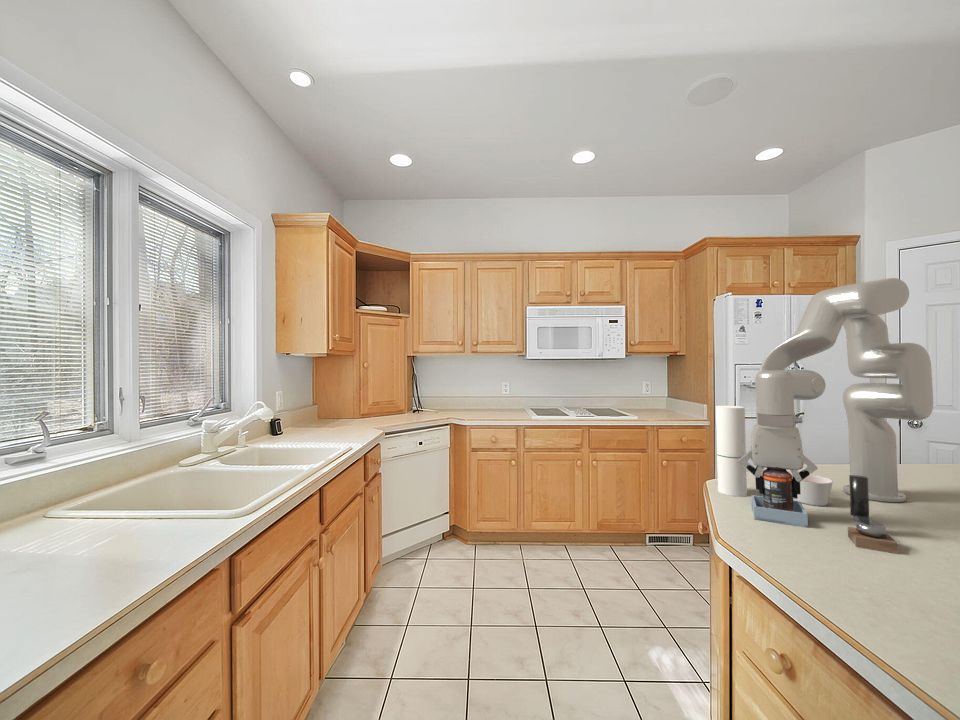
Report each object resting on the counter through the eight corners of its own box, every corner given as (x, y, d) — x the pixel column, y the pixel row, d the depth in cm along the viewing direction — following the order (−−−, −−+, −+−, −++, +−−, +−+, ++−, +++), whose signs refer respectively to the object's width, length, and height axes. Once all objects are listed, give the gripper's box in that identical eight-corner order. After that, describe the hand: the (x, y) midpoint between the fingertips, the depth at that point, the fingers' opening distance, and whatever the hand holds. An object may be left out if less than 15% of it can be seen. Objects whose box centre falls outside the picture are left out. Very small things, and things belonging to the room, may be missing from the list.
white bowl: (787, 502, 106) (787, 478, 106) (792, 494, 113) (791, 472, 113) (832, 510, 100) (831, 485, 100) (834, 501, 106) (833, 478, 107)
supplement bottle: (787, 506, 98) (786, 460, 99) (798, 514, 93) (796, 466, 93) (759, 503, 100) (758, 459, 101) (768, 512, 95) (766, 464, 95)
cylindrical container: (746, 491, 116) (744, 406, 117) (747, 497, 110) (744, 408, 111) (718, 487, 120) (716, 405, 121) (717, 493, 114) (715, 407, 115)
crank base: (847, 535, 85) (847, 525, 85) (886, 541, 82) (886, 531, 82) (856, 546, 80) (855, 535, 80) (897, 553, 77) (897, 542, 77)
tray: (751, 506, 103) (751, 495, 103) (800, 513, 98) (799, 501, 98) (754, 519, 95) (754, 506, 95) (807, 527, 90) (807, 514, 90)
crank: (890, 538, 78) (888, 490, 78) (859, 534, 80) (858, 486, 80) (871, 519, 88) (869, 476, 88) (844, 516, 90) (843, 473, 90)
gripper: (817, 421, 96) (819, 495, 95) (733, 417, 105) (735, 485, 104) (824, 425, 89) (827, 505, 89) (734, 421, 98) (736, 493, 98)
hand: (777, 494), depth 97 cm, fingers closed on supplement bottle, 6 cm apart
